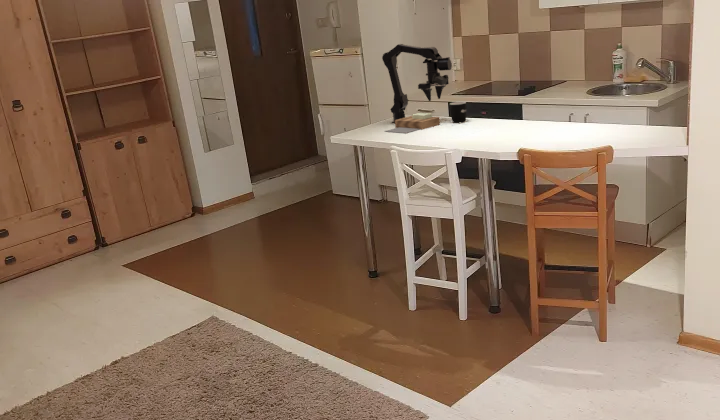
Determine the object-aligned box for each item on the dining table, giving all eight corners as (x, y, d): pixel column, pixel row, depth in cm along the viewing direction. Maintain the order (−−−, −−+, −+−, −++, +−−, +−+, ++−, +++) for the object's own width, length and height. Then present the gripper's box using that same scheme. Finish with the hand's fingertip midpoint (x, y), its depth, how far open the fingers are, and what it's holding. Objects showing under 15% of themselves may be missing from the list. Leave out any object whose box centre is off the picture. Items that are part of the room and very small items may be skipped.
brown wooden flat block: (395, 127, 361) (394, 120, 360) (413, 122, 370) (412, 115, 368) (422, 129, 346) (421, 121, 345) (439, 124, 355) (439, 117, 354)
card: (412, 118, 359) (411, 114, 359) (419, 116, 363) (419, 112, 362) (424, 119, 353) (424, 115, 352) (431, 117, 356) (431, 113, 356)
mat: (384, 131, 352) (384, 131, 352) (399, 127, 359) (399, 127, 359) (405, 133, 340) (405, 132, 340) (420, 129, 347) (420, 128, 347)
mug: (462, 123, 351) (461, 104, 348) (447, 123, 356) (446, 104, 353) (473, 119, 360) (472, 100, 357) (458, 119, 365) (457, 100, 362)
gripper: (431, 73, 346) (433, 103, 350) (455, 68, 357) (456, 97, 362) (416, 73, 354) (418, 102, 359) (439, 68, 366) (441, 97, 370)
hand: (434, 99), depth 362 cm, fingers open, 7 cm apart
